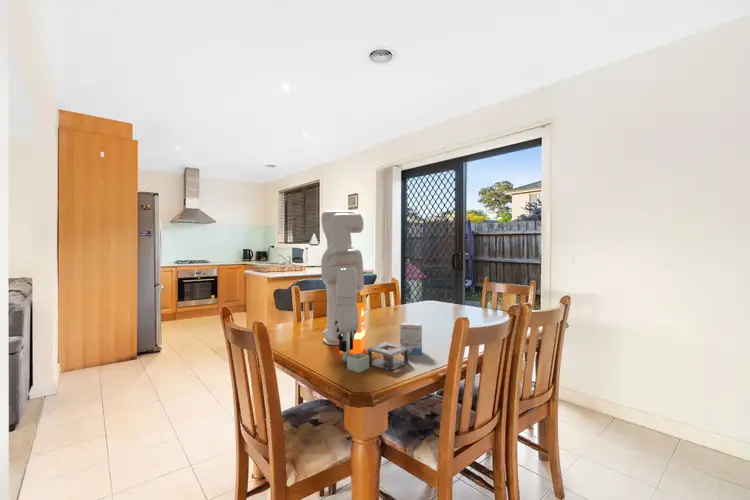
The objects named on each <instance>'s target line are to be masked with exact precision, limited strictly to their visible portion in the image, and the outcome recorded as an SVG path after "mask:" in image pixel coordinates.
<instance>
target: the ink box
mask: <svg viewBox="0 0 750 500" xmlns="http://www.w3.org/2000/svg"><path fill="white" fill-rule="evenodd" d="M399 328H400V329H399V330H400V333H399V334H400V335H399V340H400V341H399V342H400V343H399V345H401V346H406V347H409V355H418V356H420V355H422V353H423V323H414V322H402V323H400V326H399ZM400 354H404V352H401V353H400Z"/></svg>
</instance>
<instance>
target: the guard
mask: <svg viewBox="0 0 750 500" xmlns="http://www.w3.org/2000/svg"><path fill="white" fill-rule="evenodd" d="M366 351H367V352H366V353H367V354H366V355H368V356H369V366H371V367H375V368H379V369H381V370H385V371H389V372H392V371H395V370H397V369H399V368H401V367H403V366H406V365H408V364H409V361H410V359H409V356H410V354H409V347H406V346H401V345H400V344H396V343H392V342H388V341H384V342H382V343H377V344H375V345H372V346H370V347H367V348H366ZM401 352H404V353H403V360H401V359H398V358H394V356H396V355H398V354H402V353H401ZM373 353H376V354H380V355H387V356H388V361H385V360H383V356H382V357H379V358H377V359H375V360H373Z"/></svg>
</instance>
